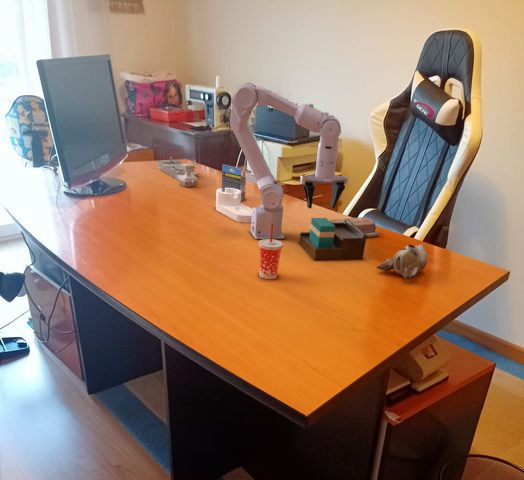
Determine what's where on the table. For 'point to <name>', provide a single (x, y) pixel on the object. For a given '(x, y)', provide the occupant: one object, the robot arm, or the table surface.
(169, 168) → the architectural model
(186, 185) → the stamp
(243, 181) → the label tape box
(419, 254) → the ceramic sculpture
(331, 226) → the block
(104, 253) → the table surface
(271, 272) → the beverage cup
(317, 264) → the table surface
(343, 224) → the step shelf
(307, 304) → the table surface
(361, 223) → the packaged product
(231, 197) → the bracket
